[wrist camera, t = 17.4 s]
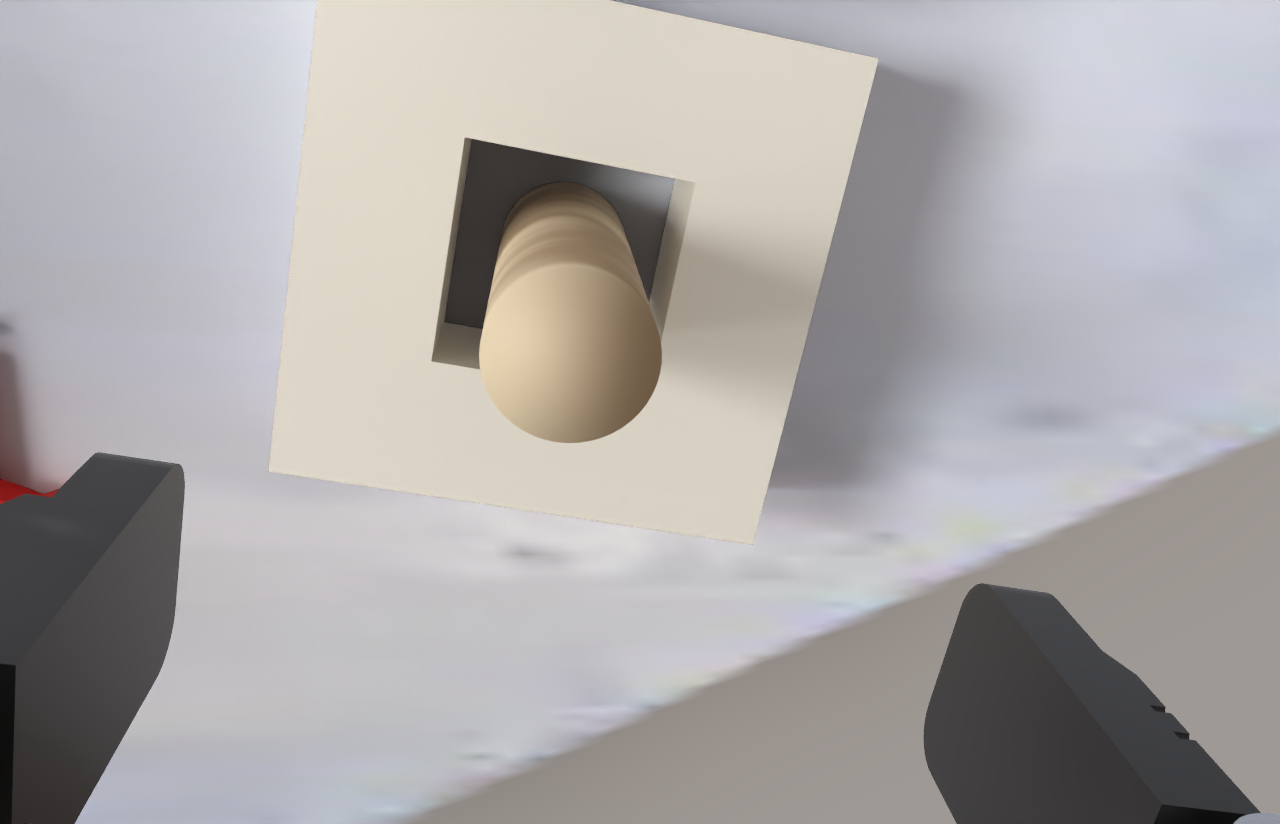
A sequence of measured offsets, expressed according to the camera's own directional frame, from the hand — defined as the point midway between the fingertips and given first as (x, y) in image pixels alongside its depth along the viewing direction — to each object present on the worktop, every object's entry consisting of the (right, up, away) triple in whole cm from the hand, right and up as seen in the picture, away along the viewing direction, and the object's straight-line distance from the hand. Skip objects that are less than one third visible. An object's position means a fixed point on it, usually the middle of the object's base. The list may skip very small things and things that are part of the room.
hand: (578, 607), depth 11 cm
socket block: (-1, +6, +18) cm, 19 cm away
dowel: (-1, +6, +18) cm, 19 cm away
